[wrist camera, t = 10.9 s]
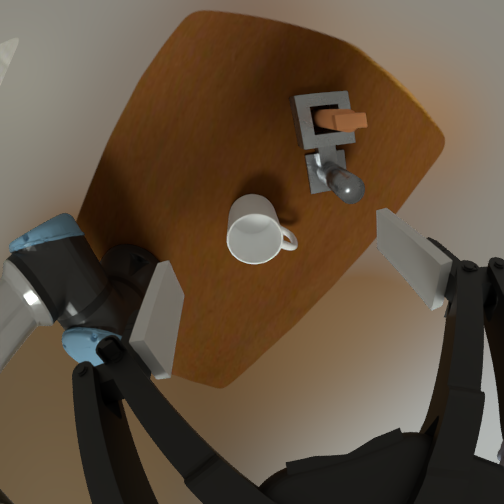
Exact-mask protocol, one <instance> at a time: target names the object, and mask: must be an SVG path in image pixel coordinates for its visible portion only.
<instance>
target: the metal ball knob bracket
mask: <svg viewBox="0 0 504 504" xmlns="http://www.w3.org/2000/svg"><path fill="white" fill-rule="evenodd" d="M289 101H290V106H291V110H292V115H293V120H294V125H295V131H296V136H297V141H298V146H299V147H301V148H302V149H304V150H306V149H312V148H315V152H316V153H312V154H306V155H305V161H306V167H307V173H308V180H309V186H310V193H311V194H314V193H319V192H324V191H330V190H332V191H333V192H334V193H335V194H336V195H337V196H338V197H339V198H340V199H341V200H342V201H344V202H345V203H348V204H353V203H356V202H358V201H359V200H361V198H362V197H363V195H364V192H365V186H364V183H363V181H362V180H361V179H360V178H358V177H357V176H355V175H354V174H352V173H350V172H349V171H347V170H346V162H345V154H344V150H343V149H339V150H336V146H335V145H340V144H348V143H355V135H354V131H353V132H349V133H348V132H343V131H338V130H325V131H318V132H314V128H313V122H312V117H311V111H310V107H312V106H320V105H329V108H330V109H351V108H350V102H349V96H348V91H337V92H325V93H315V94H306V95H298V96H292V97H289Z"/></svg>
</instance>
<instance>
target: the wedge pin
mask: <svg viewBox="0 0 504 504" xmlns="http://www.w3.org/2000/svg"><path fill="white" fill-rule="evenodd" d="M311 117H312V122H313V125H314V126H316V127H322V128H328V129H333V130H338V131H343V132H348V133H349V132H353V131H355V130H356V129H357V128H363V127H367V119H366V113H355V112H354V111H353V110H351V109H322V110H314V111H312V112H311Z"/></svg>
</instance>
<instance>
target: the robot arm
mask: <svg viewBox="0 0 504 504" xmlns="http://www.w3.org/2000/svg"><path fill="white" fill-rule="evenodd" d="M376 212H377V249H378V250H379V251H380V252H381V253H382V254H383V255H384V256H385V257H386V258H387V260H389V262H390V263H391V264H392V265H393V266H394V267H395V268H396V269H397V271H398V272H399V273H400V274H401V275H402V276H403V277H404V279H405V280H406V281H407V282H408V283H409V284H410V285H411V287H412V288H413V289H414V290H415V291H416V293H417V294H418V295H419V296H420V297H421V299H422V300H423V301H424V302H425V303H426V305H427V306H428V307H429V309H430V310H431V311H432V310H434V309H436V308H438V307H441V306H442V305H443V301H444V297H446V298H447V300H448V301H449V302H448V305H447V309H446V312H445V316H444V317H446V324H445V331H444V339H443V345H442V352H441V357H440V363H439V368H438V373H437V377H436V382H435V386H434V390H433V394H432V399H431V402H430V406H429V409H428V412H427V416H426V419H425V421H424V423H423V425H422V427H421V430H420V432H419V433H418V432H406V433H402V432H401V430H400V428H398V429H395V430H393V431H391V432H388V433H386V434H383V435H381V436H378V437H375V438H373V439H372V440H370V441H369V442H367V443H365V444H364V445H362V446H360V447H359V448H357V449H356V450H354V451H352V452H350V453H348V454H345V455H332V456H313V457H309V458H305V459H300V460H296V461H291V462H286V467H287V468H284V469H282V470H280V471H278V472H276V473H275V474H273V475H272V476H270V477H269V478H268V479H266V480H265V481H264V482H263V483H262V484H261V485H260V486H259V487H258V486H256V485H255V484H254V483H253V482H251V481H250V480H249V479H248V478H246V477H245V476H244V475H243V474H241V473H240V472H239V471H238V470H237V469H235V468H234V467H233V466H232V465H231V464H230V463H228V462H227V461H226V460H225V459H224V458H223V457H222V456H221V455H220V454H219V453H217V452H216V451H215V450H214V449H213V448H212V447H211V446H210V445H209V444H208V443H207V442H206V441H205V440H204V439H203V438H202V437H201V436H200V435H199V434H198V433H197V432H196V431H195V430H194V429H193V428H192V427H191V426H190V425H189V424H188V423H187V422H186V420H185V419H184V418H183V417H182V416H181V415H180V414H179V413H178V412H177V411H176V410H175V408H174V407H173V406H172V405H171V404H170V403H169V401H168V400H167V399H166V398H165V397H164V396H163V394H162V393H161V392H160V391H159V390H158V388H157V387H156V386H155V385H154V383H153V382H152V381H151V380H150V376H151V373H152V374H153V375H154V376H155V378H156V379H164V378H170V377H171V371H172V364H173V358H174V352H175V345H176V339H177V334H178V328H179V322H180V317H181V311H182V306H183V301H184V293H183V291H182V289H181V287H180V284H179V282H178V280H177V278H176V275H175V273H174V271H173V269H172V266H171V264H170V262H169V260H168V261H164V262H160V263H159V261H158V260H157V259H156V258H155V257H154V256H153V255H152V254H151V253H149V252H148V251H146V250H145V249H143V248H141V247H138V246H135V245H129V244H122V245H117V246H115V247H113V248H111V249H110V250H108V251H107V253H106V254H105V255H104V256H103V258H102V259H101V261H100V262H99V260H98V259H97V257H96V255H95V254H94V252H93V250H92V249H91V247H90V245H89V243H88V242H87V240H86V238H85V236H84V235H85V234H84V232H82V231H81V230H80V228H79V226H78V225H77V223H76V221H75V220H74V218H73V217H72V216H71V215H69V214H67V213H63V214H60V215H58V216H56V217H54V218H52V219H50V220H48V221H46V222H44V223H43V224H41V225H39V226H37V227H35V228H34V229H32V230H30V231H29V232H27V233H25V234H24V235H22V236H21V237H19V238H17V239H15V240H14V241H12V242H11V243H10V245H9V249H10V250H9V251H10V253H12V255H11V256H10V257H8V258H7V259H6V260H5V261H4V263H3V275H2V278H1V279H0V373H1V371H2V370H3V368H4V367H5V366H6V365H7V363H8V362H9V361H10V359H11V358H12V357H13V355H14V354H15V353H16V351H17V350H18V349H19V348H20V346H21V345H22V344H23V343H24V341H25V340H26V339H27V338H28V336H29V335H30V334H31V333H32V332H33V331H34V329H35V328H36V327H37V326H51V325H53V323H54V322H55V321H56V320H58V322H59V323H60V324H61V326H62V327H63V328H64V329H65V331H64V333H63V335H62V343H63V347H64V349H65V350H66V352H67V353H68V354H69V355H70V356H71V357H72V358H73V359H74V360H76V361H77V362H79V364H78V365H77V366H76V367H75V369H74V370H73V374H72V383H73V400H74V411H75V422H76V430H77V437H78V443H79V449H80V455H81V460H82V465H83V469H84V474H85V478H86V483H87V487H88V491H89V494H90V498H91V501H92V504H158V502H157V499H156V497H155V495H154V493H153V491H152V489H151V486H150V484H149V481H148V479H147V476H146V474H145V471H144V469H143V466H142V464H141V462H140V458H139V456H138V453H137V450H136V447H135V444H134V441H133V438H132V435H131V432H130V429H129V425H128V421H127V418H126V414H125V411H124V407H123V404H122V399H125V400H126V401H127V403H128V404H129V406H130V407H131V409H132V411H133V412H134V414H135V415H136V417H137V418H138V420H139V421H140V423H141V424H142V425H143V427H144V428H145V430H146V431H147V433H148V434H149V435H150V437H151V438H152V440H153V441H154V442H155V444H156V445H157V446H158V447H159V449H160V450H161V451H162V453H163V454H164V455H165V456H166V458H167V459H168V460H169V461H170V463H171V464H172V465H173V466H174V467H175V468H176V469H177V471H178V472H179V473H180V474H181V475H182V477H183V478H184V483H185V484H186V486H187V487H188V488H189V489H190V490H191V492H192V493H193V494H194V495H195V496H196V497H197V498H198V499H199V500H200V501H201V502H202V503H203V504H504V260H503V259H501V258H497V257H494V258H491V259H490V260H489V263H488V267H478V266H477V265H476V264H475V263H474V262H472V261H468V260H467V261H466V260H463V261H460V260H459V259H458V258H457V257H456V256H454V255H453V254H452V253H451V252H450V251H449V250H447V249H446V248H445V247H444V246H442V245H441V244H440V243H439V242H437V241H436V240H434V239H431V238H429V237H428V238H425V237H424V236H423V235H421V234H420V233H419V232H418V231H416V230H415V229H414V228H412V227H411V226H410V225H409V224H407V223H406V222H405V221H403V220H402V219H401V218H399V217H398V216H397V215H395V214H394V213H393V212H391V211H390V210H389V209H387V208H384V209H380V210H376ZM484 328H485V332H486V335H487V339H488V343H489V348H490V352H491V357H492V362H493V367H494V373H495V380H496V386H497V394H498V403H499V414H500V425H501V432H502V438H503V442H502V444H501V448H500V450H499V451H498V455H497V457H498V460H499V461H500V464H497V463H494V462H491V461H489V460H486V459H484V458H481V457H478V456H476V455H474V452H475V448H476V444H477V440H478V436H479V431H480V426H481V421H482V415H483V409H484V402H485V393H484V392H481V379H482V367H483V349H484ZM0 504H14V503H13V502H12V501H11V500H10V499H9V498H8V497H7V496H6V495H5V494H4V493H3V492H2V490H1V489H0Z"/></svg>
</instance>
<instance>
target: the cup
mask: <svg viewBox="0 0 504 504" xmlns="http://www.w3.org/2000/svg"><path fill="white" fill-rule="evenodd" d="M283 235H285V236H287V237H288V238H289V239H290V241H291V243H289V242H287V241H284V240H283ZM227 245H228V248H229V250H230V252H231V253H232V255H233V256H234V257H236V258H237V259H238V260H240V261H242V262H244V263H248V264H261V263H264V262H267V261H269V260H271V259H272V258H273V257H275V256H276V255H277V254H278V252H279V251H280V249H281V248H283V249H286V250H295V249H296V248H297V246H298V242H297V239H296V237H295V236H294V234H293V233H292V232H291V231H289V230H288V229H286V228H284V227H282V226H280V223H279V220H278V218H277V215H276V212H275V209H274V207H273V205H272V204H271V202H270V201H269V200H268V199H266V198H265V197H263V196H261V195H257V194H248V195H244V196H242V197H240V198H239V199H237V200H236V201H235V202H234V203H233V205H232V207H231V209H230V212H229V219H228V231H227Z"/></svg>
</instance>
